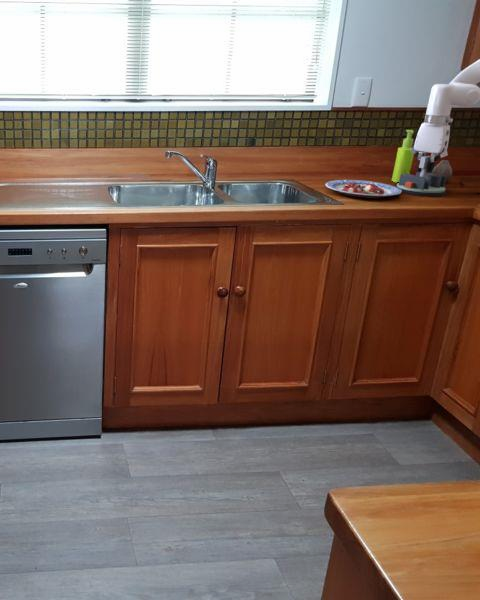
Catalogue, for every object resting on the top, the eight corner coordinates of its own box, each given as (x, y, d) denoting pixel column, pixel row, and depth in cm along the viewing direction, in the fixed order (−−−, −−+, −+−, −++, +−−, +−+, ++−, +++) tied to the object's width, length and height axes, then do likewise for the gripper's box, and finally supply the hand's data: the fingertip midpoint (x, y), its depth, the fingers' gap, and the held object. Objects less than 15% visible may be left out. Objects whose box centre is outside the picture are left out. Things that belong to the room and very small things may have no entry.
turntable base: (441, 189, 232) (442, 186, 232) (449, 198, 218) (449, 195, 217) (392, 185, 238) (393, 182, 237) (396, 194, 223) (397, 191, 223)
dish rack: (415, 182, 237) (422, 151, 233) (454, 190, 224) (462, 158, 220) (387, 185, 230) (394, 154, 226) (426, 194, 217) (434, 161, 213)
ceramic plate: (324, 183, 239) (325, 175, 238) (396, 188, 231) (397, 181, 230) (325, 197, 217) (326, 189, 216) (404, 204, 209) (406, 195, 208)
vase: (430, 183, 242) (436, 161, 238) (428, 180, 248) (434, 158, 244) (450, 185, 239) (456, 162, 236) (448, 181, 245) (453, 159, 242)
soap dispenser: (406, 180, 247) (417, 129, 239) (408, 183, 241) (420, 131, 233) (390, 179, 249) (400, 128, 241) (392, 182, 243) (403, 131, 235)
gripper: (464, 122, 214) (451, 174, 221) (418, 117, 226) (407, 167, 233) (455, 123, 210) (442, 176, 217) (408, 118, 221) (397, 169, 229)
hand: (424, 171), depth 225 cm, fingers closed on dish rack, 2 cm apart
